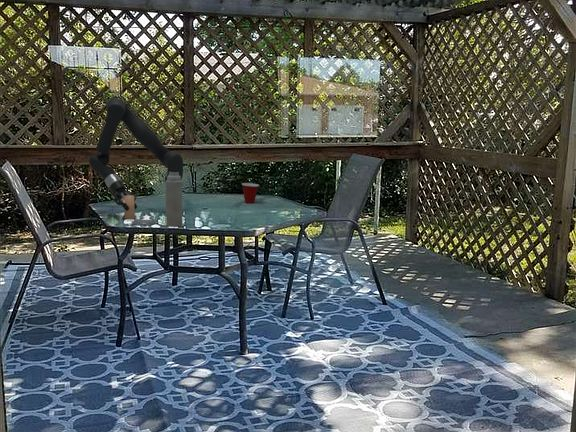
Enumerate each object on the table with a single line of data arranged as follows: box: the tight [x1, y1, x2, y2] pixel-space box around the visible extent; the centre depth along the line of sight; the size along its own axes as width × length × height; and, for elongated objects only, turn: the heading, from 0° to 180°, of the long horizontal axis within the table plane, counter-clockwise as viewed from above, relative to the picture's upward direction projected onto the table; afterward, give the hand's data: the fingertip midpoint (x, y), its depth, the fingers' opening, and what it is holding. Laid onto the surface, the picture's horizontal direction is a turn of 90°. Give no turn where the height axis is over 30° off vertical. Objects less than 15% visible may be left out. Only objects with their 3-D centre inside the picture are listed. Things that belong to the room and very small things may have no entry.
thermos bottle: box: [165, 169, 183, 228], centre depth 307 cm, size 8×8×28 cm
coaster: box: [131, 219, 157, 226], centre depth 314 cm, size 12×12×1 cm
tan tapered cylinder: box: [123, 194, 136, 220], centre depth 324 cm, size 5×5×12 cm
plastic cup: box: [241, 182, 260, 205], centre depth 383 cm, size 11×11×12 cm
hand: (131, 209), depth 323 cm, fingers closed on tan tapered cylinder, 5 cm apart
